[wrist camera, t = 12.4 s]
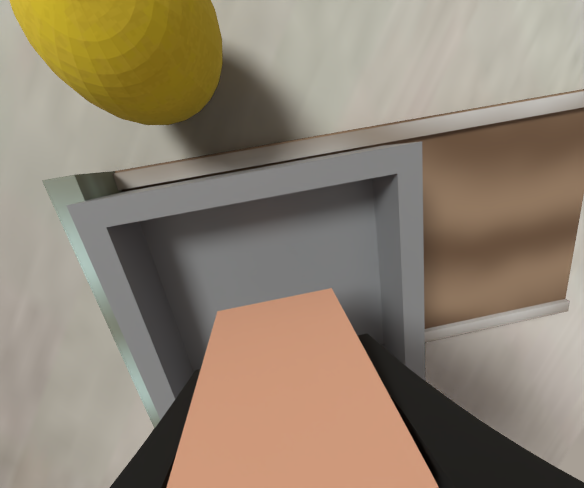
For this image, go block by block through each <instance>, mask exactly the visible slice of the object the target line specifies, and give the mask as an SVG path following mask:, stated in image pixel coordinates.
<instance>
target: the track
mask: <svg viewBox="0 0 584 488" xmlns="http://www.w3.org/2000/svg"><path fill="white" fill-rule="evenodd" d="M412 142H422V167H423V244H424V322H425V342H429V341H433V340H438V339H443V338H447V337H452V336H456V335H461V334H466V333H470V332H475V331H479V330H484V329H488V328H493V327H498V326H502V325H507V324H511V323H516V322H521V321H525V320H530V319H534V318H539V317H544V316H548V315H553V314H557V313H562V312H567V311H568V309H569V303H570V301H569V300H567V299H565V297H566V291H567V286H568V280H569V274H570V269H571V263H572V257H573V252H574V246H575V240H576V235H577V229H578V223H579V218H580V212H581V206H582V201H583V195H584V89H582V90H577V91H571V92H565V93H559V94H554V95H548V96H542V97H537V98H531V99H525V100H519V101H514V102H508V103H502V104H497V105H491V106H485V107H479V108H474V109H468V110H462V111H457V112H451V113H445V114H439V115H434V116H428V117H422V118H417V119H411V120H405V121H399V122H394V123H388V124H382V125H377V126H371V127H365V128H359V129H354V130H348V131H342V132H337V133H331V134H325V135H319V136H314V137H308V138H302V139H297V140H291V141H285V142H279V143H274V144H268V145H262V146H257V147H251V148H245V149H239V150H234V151H228V152H222V153H217V154H211V155H205V156H199V157H194V158H188V159H182V160H177V161H171V162H165V163H159V164H154V165H148V166H142V167H137V168H131V169H125V170H119V171H113V172H101V173H90V174H79V175H71V176H65V177H59V178H54V179H48V180H42V181H43V184H44V186H45V188H46V190H47V193H48V195H49V197H50V199H51V201H52V204H53V206H54V208H55V210H56V212H57V215H58V217H59V219H60V221H61V223H62V226H63V228H64V230H65V232H66V234H67V237H68V239H69V241H70V243H71V245H72V248H73V250H74V252H75V254H76V256H77V259H78V261H79V263H80V265H81V267H82V270H83V272H84V274H85V276H86V278H87V281H88V283H89V285H90V287H91V289H92V292H93V294H94V296H95V298H96V301H97V303H98V305H99V307H100V309H101V312H102V314H103V316H104V318H105V320H106V323H107V325H108V327H109V329H110V331H111V334H112V336H113V338H114V340H115V342H116V345H117V347H118V349H119V351H120V353H121V356H122V358H123V360H124V362H125V364H126V367H127V369H128V371H129V373H130V375H131V378H132V380H133V382H134V384H135V386H136V389H137V391H138V393H139V395H140V397H141V400H142V402H143V404H144V406H145V408H146V411H147V413H148V415H149V417H150V420H151V422H152V424H153V426H154V428H155V427H156V426H157V424H158V423H159V422H160V418H159V416H158V414H157V411H156V409H155V407H154V405H153V402H152V400H151V398H150V395H149V393H148V391H147V389H146V386H145V384H144V382H143V379H142V377H141V375H140V373H139V370H138V368H137V366H136V363H135V361H134V359H133V357H132V354H131V352H130V350H129V347H128V345H127V343H126V341H125V338H124V336H123V334H122V332H121V329H120V327H119V325H118V322H117V320H116V318H115V316H114V313H113V311H112V309H111V306H110V304H109V302H108V300H107V297H106V295H105V293H104V290H103V288H102V286H101V284H100V281H99V279H98V277H97V274H96V272H95V270H94V268H93V265H92V263H91V261H90V259H89V256H88V254H87V252H86V249H85V247H84V245H83V243H82V240H81V238H80V236H79V233H78V231H77V229H76V227H75V224H74V222H73V220H72V217H71V215H70V213H69V211H68V208H67V206H66V205H70V204H74V203H78V202H82V201H86V200H91V199H95V198H99V197H103V196H107V195H111V194H115V193H121V192H126V191H132V190H137V189H143V188H148V187H154V186H160V185H165V184H171V183H176V182H182V181H188V180H193V179H199V178H204V177H210V176H216V175H221V174H227V173H232V172H238V171H243V170H249V169H255V168H260V167H266V166H271V165H277V164H283V163H288V162H294V161H299V160H305V159H311V158H316V157H322V156H327V155H333V154H338V153H344V152H350V151H355V150H361V149H366V148H372V147H378V146H384V145H393V144H403V143H412Z"/></svg>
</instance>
